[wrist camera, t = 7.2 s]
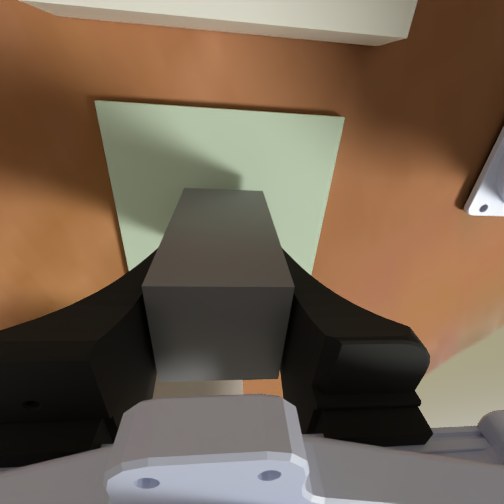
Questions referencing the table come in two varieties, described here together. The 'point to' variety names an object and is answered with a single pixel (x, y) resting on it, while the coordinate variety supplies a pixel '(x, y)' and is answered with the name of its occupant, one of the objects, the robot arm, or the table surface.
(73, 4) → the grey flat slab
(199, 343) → the plug
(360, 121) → the table surface
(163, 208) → the mat
